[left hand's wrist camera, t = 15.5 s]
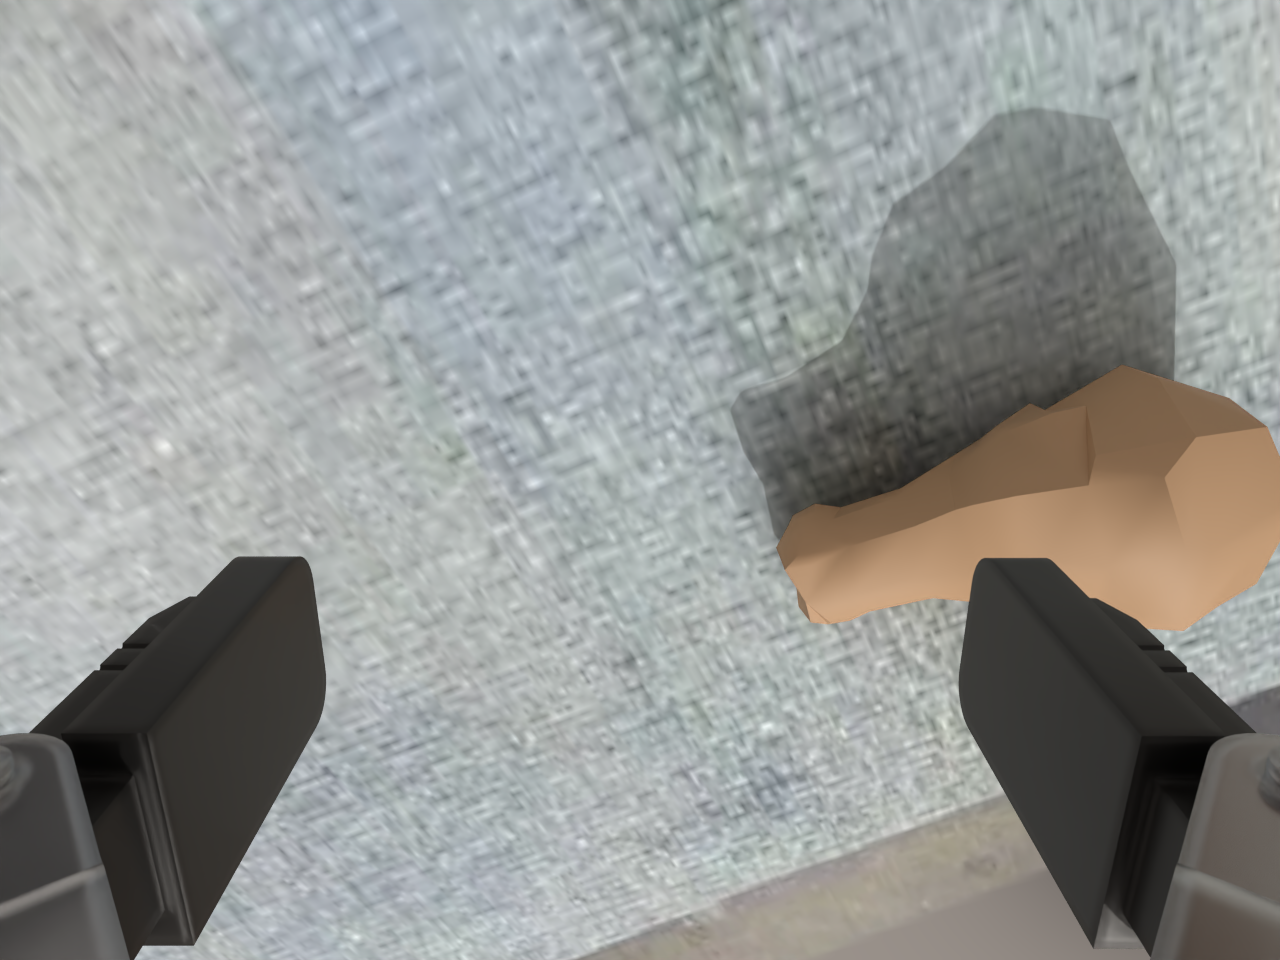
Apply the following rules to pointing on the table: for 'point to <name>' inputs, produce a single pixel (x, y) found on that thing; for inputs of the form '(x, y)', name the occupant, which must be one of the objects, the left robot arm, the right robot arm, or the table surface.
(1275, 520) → the squash
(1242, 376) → the table surface
